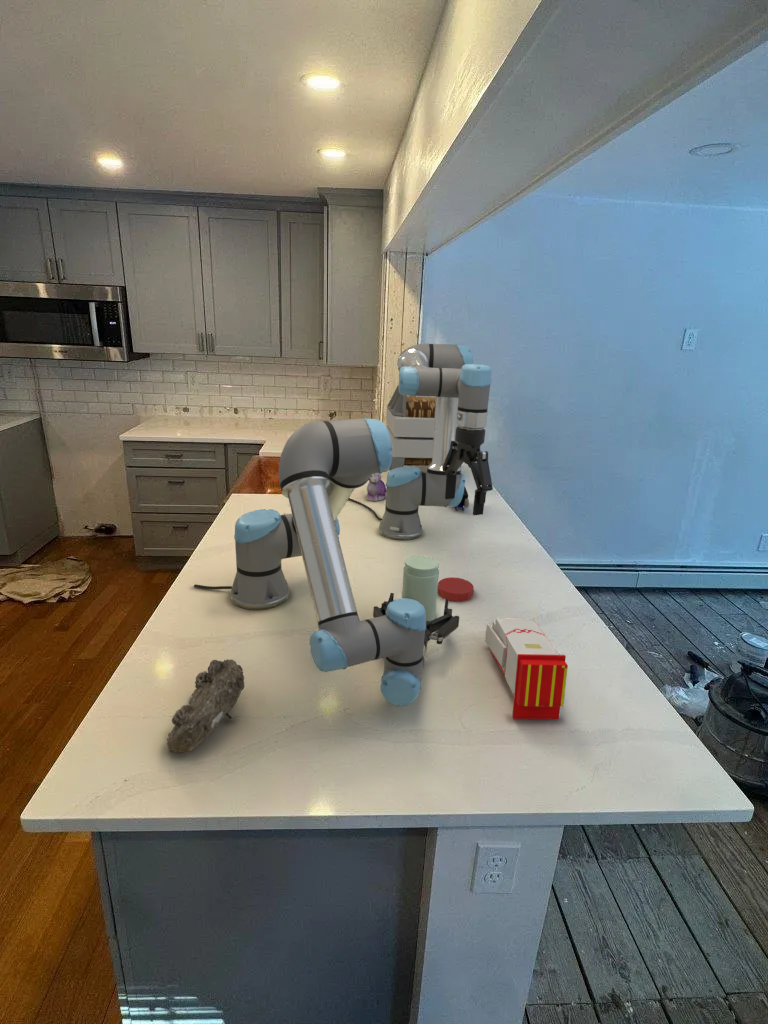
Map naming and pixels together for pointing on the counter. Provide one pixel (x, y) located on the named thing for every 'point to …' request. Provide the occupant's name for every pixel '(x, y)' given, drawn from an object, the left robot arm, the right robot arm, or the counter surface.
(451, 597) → the lid
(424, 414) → the grey slatted crate
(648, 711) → the counter surface
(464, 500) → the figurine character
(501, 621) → the toy
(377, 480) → the figurine
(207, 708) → the fossil
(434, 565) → the jar
